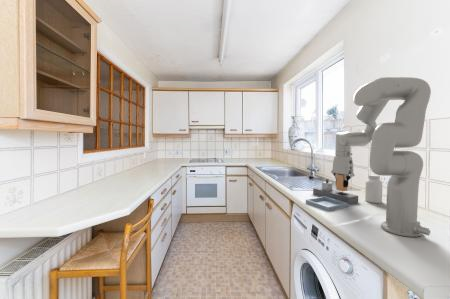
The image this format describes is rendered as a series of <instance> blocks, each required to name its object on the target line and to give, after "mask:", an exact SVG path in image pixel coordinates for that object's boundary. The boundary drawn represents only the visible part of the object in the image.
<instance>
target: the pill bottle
mask: <svg viewBox="0 0 450 299" xmlns="http://www.w3.org/2000/svg"><path fill="white" fill-rule="evenodd" d="M380 178H381V175H377V174H368V179H366V180H365V187H364V188H365V191H364V192H365V193H364V194H365V202H368V203H371V204H381V203H382V202H383V182H382V181H381V180H380Z"/></svg>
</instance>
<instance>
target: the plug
mask: <svg viewBox="0 0 450 299" xmlns="http://www.w3.org/2000/svg"><path fill="white" fill-rule="evenodd" d="M343 183H344V175H343V174H337V181H336V180H335V186H336V187H335V190H337V191H341V192H347V191H348V187H343Z"/></svg>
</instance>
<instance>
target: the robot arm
mask: <svg viewBox="0 0 450 299" xmlns="http://www.w3.org/2000/svg"><path fill="white" fill-rule="evenodd" d="M431 94H432V91H431V86H430V84H429V83H428V82H427V81H426V80H424V79H421V78H418V77H406V76H405V77H403V76H402V77H398V76H397V77H390V76H389V77H387V76H386V77H385V76H384V77H379V78H377V79H374V80H372V81H370V82H368V83H365V84H364V85H361V86H360V87H359V88H357V90H356V91H355V93H354V95H353V103H354V104H355V106H357V107H359V109H358V110H357V112H356V115H355V117H356V119H358V121H359V122H361V123H363V124H364V125H366V126H365V127H364V129H363V131H345V132H344V131H343V132H337V133H336V134H335V150H334V151H335V152H334V153H335V154H334V157H333V161H332V169H331V172H330V173H331V174H332V175H333V176H334V179H335V182H336V181H337V174H343V175H344V183H343V187H347V188H348V187H349V181H350V180H351V178H353V177H355V174H354V162H353V157H352V155H353V153H352V151H351V150H352V149H351V148H352V147H364V146H367V145H369V143H371V145H370V155H369V167H370V171H372V172H373V173H374V175H379V176H381V177H382V176H385V177H386V176H390V178H389V179H388V182H387V185H386V186H387V187H386V206H385V210H386V211H385V212H386V213H385V221H382V222H381V223H380V227H381V229H383V230H384V231H386V232H388V233H390V234H394V235H398V236H403V237H410V238H418V237H421V236H422V235H425V236H430V235H431V230H430V228H427V227H425V226H424V227H423V226H422V225H421V221H418V209H419V208H418V206H419V204H418V203H419V190H420V188H419V187H420V185H419V184H420V181H421V180H420V179H421V175H422V171H423V168H424V160H423V158H422V156H421V155H420V154H418V153H417V152H415V151H411V150H394V149H396V148H399V149H400V148H413V147H417V146H418V145H419V144H420V143H421V141H422V138H423V134H424V127H425V119H426V113H427V108H428V105H429V102H430V98H431ZM389 101H402V102H401V103H400V104H399V106H398V107H397V109H396V111H395V117H394V118H395V119H394V122H384V123H381V124H379V125H378V124H377V122H376V120H377V119H378V117H379V116H380V114H381V113H382V111H383V110H384V108H385V107H386V106H387V104H388V103H389ZM377 125H378V126H377Z"/></svg>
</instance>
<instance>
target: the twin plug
mask: <svg viewBox="0 0 450 299" xmlns="http://www.w3.org/2000/svg"><path fill="white" fill-rule="evenodd" d="M321 183H322V184H321V187H322V190H324V191H332V189H333V182H329V179H327V178H326V179H325V181H323V182H321Z"/></svg>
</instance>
